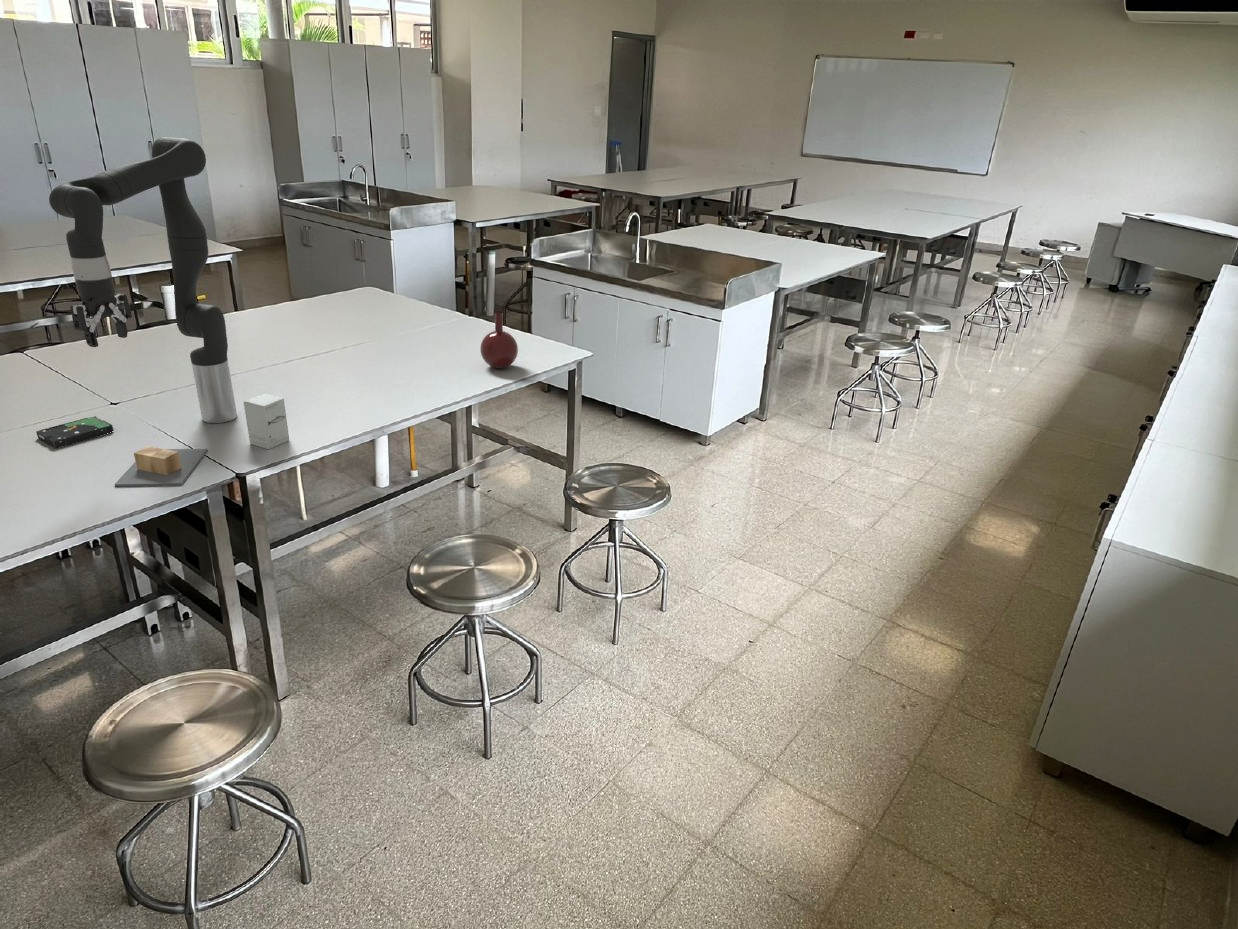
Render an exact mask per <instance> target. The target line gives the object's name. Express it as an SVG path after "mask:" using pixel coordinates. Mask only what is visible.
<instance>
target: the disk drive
mask: <svg viewBox="0 0 1238 929" xmlns="http://www.w3.org/2000/svg"><path fill="white" fill-rule="evenodd" d="M112 431H114V426H113V424H111V423H109V422H107V421H106V420H104V419H101V418H99V417H97V416H96V415H95V416H90V417H85V418H81V419H77V420H73V421H70V422H69V421H68V422H65V423H62V424H58V425H55V426H50V427H47V428H43V429H39V430H36V431H35V432H36V435H37V439H38V438H39V439H38V440H40V441H41V442H43V443H45V444H46V443H47V444H46V445H48V446H50V445H51V446H52V447H51V446H50V447H51V448H53V447H54V448H53V449H59V447H60V448H63V447H62V446H64V447H66V446H65V445H67V446H70V445H73V443H74V444H77V443H76V442H78V443H80V442H81V443H82V442H84V440H85V441H88V440H91V439H90V438H92V439H94V438H98V437H97V436H99V437H101V436H100V435H103V436H105V435H104V434H106V435H108V434H107V433H109V434H111V433H110V432H112ZM114 432H115V431H114Z"/></svg>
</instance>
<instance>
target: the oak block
mask: <svg viewBox="0 0 1238 929" xmlns="http://www.w3.org/2000/svg"><path fill="white" fill-rule="evenodd" d="M167 449H168V448H159V447H155V446H150V445H147V446H145V447H143V448H142V449H139V450H137V451H135V452H133V456H134V462H135V461H136V465H137V469H138V470H143V471H148V472H153V473H159V474H164V475H169V474H171V473H173V472H175V471H177V470H178V469H180V468H181V463H180V458H179V453H178V452H177V451H172V450H167Z"/></svg>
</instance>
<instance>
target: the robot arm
mask: <svg viewBox="0 0 1238 929" xmlns="http://www.w3.org/2000/svg"><path fill="white" fill-rule="evenodd" d="M206 163H207V158H206V154H205V151H204V149H203V148H202V146H201V145H200V144H199V143H197V141H194V140H191V139H188V138H183V137H182V138H181V137H170V136H162V137H159V138H157V139H156V140H155V141H154V142H153V144H152V148H151V158H148V159H145V160H140V161H137V162H130V163H125V164H121V165H117V166H114V167H111V168H110V169H107V170H104V171H101V172H100V173H97V174H95V175H94V176H89V177H86V178H81V179H77V180H76V179H75V180H72V181H68V182H65V183H61V184H59V185H58V186H55V187H54V188H53V189H52V191H51V192H50V194H49V198H48V203H49V206H50V208H51V209H52V210H53V211H54V212H55V213H56V214H57V215H60V216H62V217H65V218H70V219H74V229H71V230H69V231H68V232H66V234H65V235H66V236H65V239H66V243H67V248H68V252H69V256H70V262H71V269H72V274H73V278H74V282H75V286H76V289H77V294H78V296H79V297H80V299H81V302H82V303H81V304H79V305H75V304H71V305H70V313H71V318H72V323H73V328H74V331H79V332H83V335H84V338H85V342H86V344H87V345H88V346H89V347H90V348H91V347H92V348H98V347H99V342H98V337H97V334H96V331H95V330H96V326H97V325H99V323H100V321H101V320H104V319H105V318H110V317H111V318H112V319H113V320H114V321H115V322H114V325H115V329H116V334H117V337H119V338H121V339H125V338H128V329H127V328H128V327H127V324H126V322H127V320H128V319H131V318H132V317H133V315H132V311H131V306H130V303H129V300H128V296H127V295H126V294H123V293H116V288H115V283H114V280H113V275H112V269H111V267H110V266H111V265H110V262H109V260H108V257H107V255H106V254H107V253H106V248H105V245H104V240H103V230H104V225H103V224H104V208H103V206H112V205H113V206H114V205H117V204H118V203H120V202H124V201H126V200H128V199H129V198H132V197H134V196H137V195H138V194H141V193H143V192H146V191H148V190H150V189H152V188H156V187H157V186H158V188H159V192H160V196H161V202H162V207H163V213H164V219H165V224H166V225H165V226H166V227H165V228H166V235H167V243H168V250H169V254H170V261H171V262H170V263H171V268H172V269H171V270H172V277H173V285H174V286H173V289H174V292H173V293H174V312H175V314H174V315H175V321H176V326H177V328H178V330H179V332H180V333H181V334H182V335H183V336H186V337H189V338H199V339H203V346H202V347H201V346H200V347H197V348H196V349H193V350H192V351H191V352H190V353H189V358H190V362H191V368H192V374H193V377H194V378H193V379H194V383H195V389H196V394H197V398H198V404H199V409H200V410H199V411H200V415H201V420H202V421H203V422H204V423H207V424H221V423H222V424H223V423H226V422H231V421H233V420H234V419H236V418H238V413H237V405H236V400H235V394H234V389H233V388H234V387H233V383H232V376H231V372H230V366H229V360H228V350H229V343H228V337H227V336H228V335H227V327H226V320H225V315H224V313H223V310H221V308H220V307H219V306H216V305H213V304H206V303H205V304H204V303H198V300H197V284H198V280H199V278H200V276H201V273H202V272H203V271H204V268H205V266H206V264H207V261H208V259H209V245H208V238H207V232H206V228H205V225H204V223H203V221H202V219H201V218H200V216H199V214H198V213H197V211H196V209H195V208H194V206H193V205H192V203H191V200H190V198H189V195H188V193H187V188H186V183H185V179H186V178H191V177H195V176H198V175H200V174H201V173H202V172H203V171H204V169H205V168H206ZM116 305H117V307H116Z"/></svg>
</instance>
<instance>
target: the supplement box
mask: <svg viewBox="0 0 1238 929" xmlns="http://www.w3.org/2000/svg"><path fill="white" fill-rule="evenodd" d="M243 406H244V408H243V409H244V413H245V414H244V415H245V419H246V420H245V421H246V427H247V434H248V440H249V444H250V445H254V446H257V447H260V448H263V449H266V450H270V449H273V448H274V447H276V446H278V445H281V444H284V443H286V442H288V441H289V440H290V433H289V428H288V427H289V426H288V420H287V413H286V405H285V398H284V397H281V396H276V395H272V394H269V393H262V394H260V395H257V396H254V397H252V398H248V399H246V400H243Z"/></svg>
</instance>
